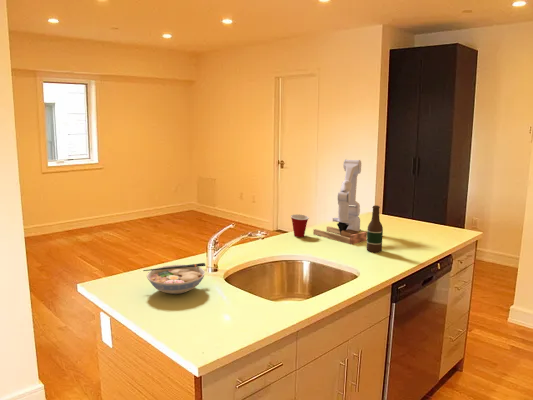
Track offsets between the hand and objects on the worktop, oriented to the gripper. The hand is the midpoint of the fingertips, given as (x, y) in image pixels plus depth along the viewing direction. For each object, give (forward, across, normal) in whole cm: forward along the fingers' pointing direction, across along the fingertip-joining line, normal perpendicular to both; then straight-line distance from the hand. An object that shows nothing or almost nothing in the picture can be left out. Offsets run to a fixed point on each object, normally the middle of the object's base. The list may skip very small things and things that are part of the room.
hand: (342, 235), depth 264 cm
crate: (+2, +5, 0) cm, 5 cm away
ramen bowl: (+2, +14, -115) cm, 116 cm away
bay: (+2, -3, 0) cm, 4 cm away
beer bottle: (+2, +28, -7) cm, 29 cm away
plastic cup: (+2, -19, -16) cm, 25 cm away
